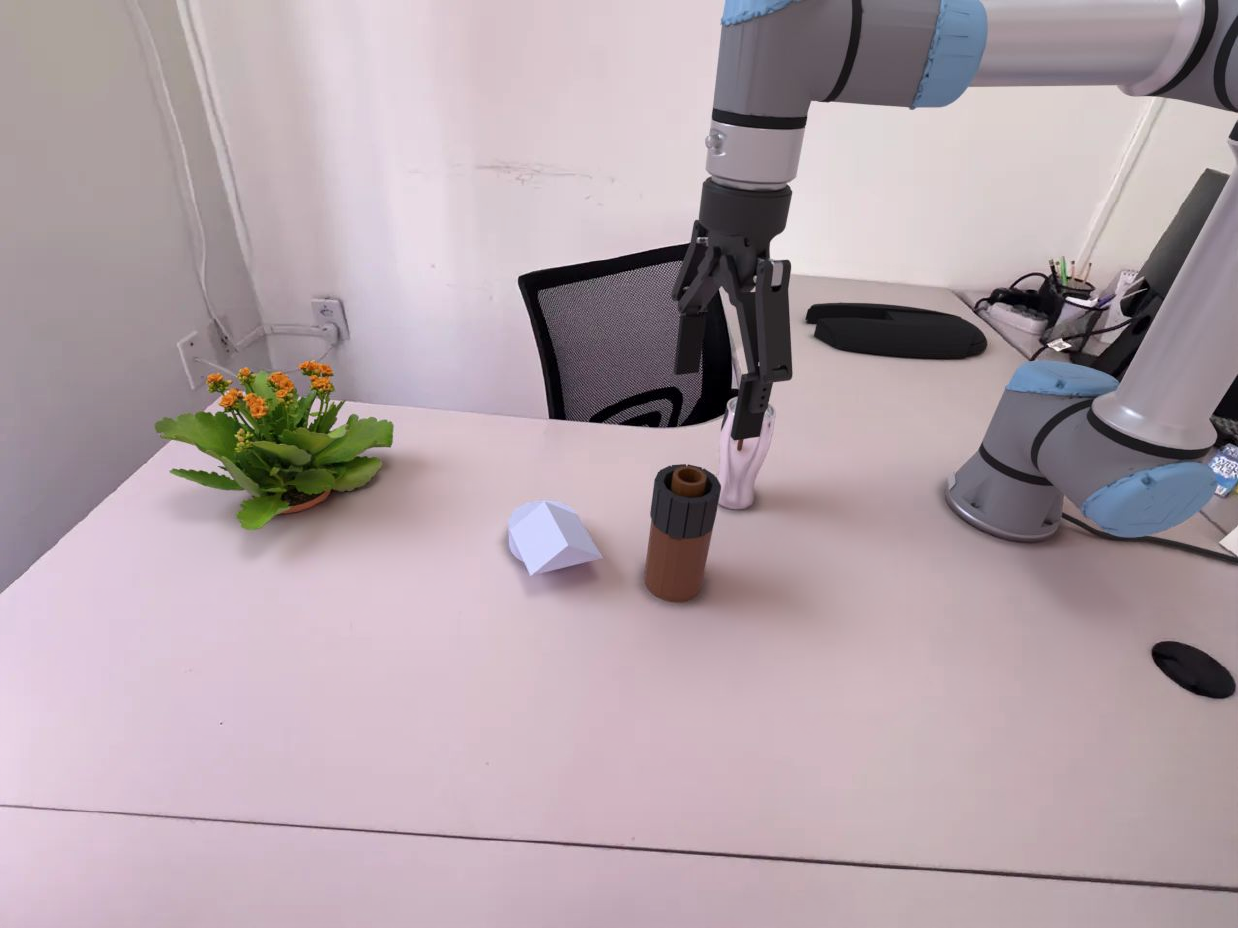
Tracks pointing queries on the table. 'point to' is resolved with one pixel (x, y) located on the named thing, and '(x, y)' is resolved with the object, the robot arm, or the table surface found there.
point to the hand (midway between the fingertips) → (713, 402)
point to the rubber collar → (684, 506)
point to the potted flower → (279, 443)
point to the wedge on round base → (549, 537)
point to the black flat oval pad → (895, 330)
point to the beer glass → (741, 459)
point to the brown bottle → (678, 548)
